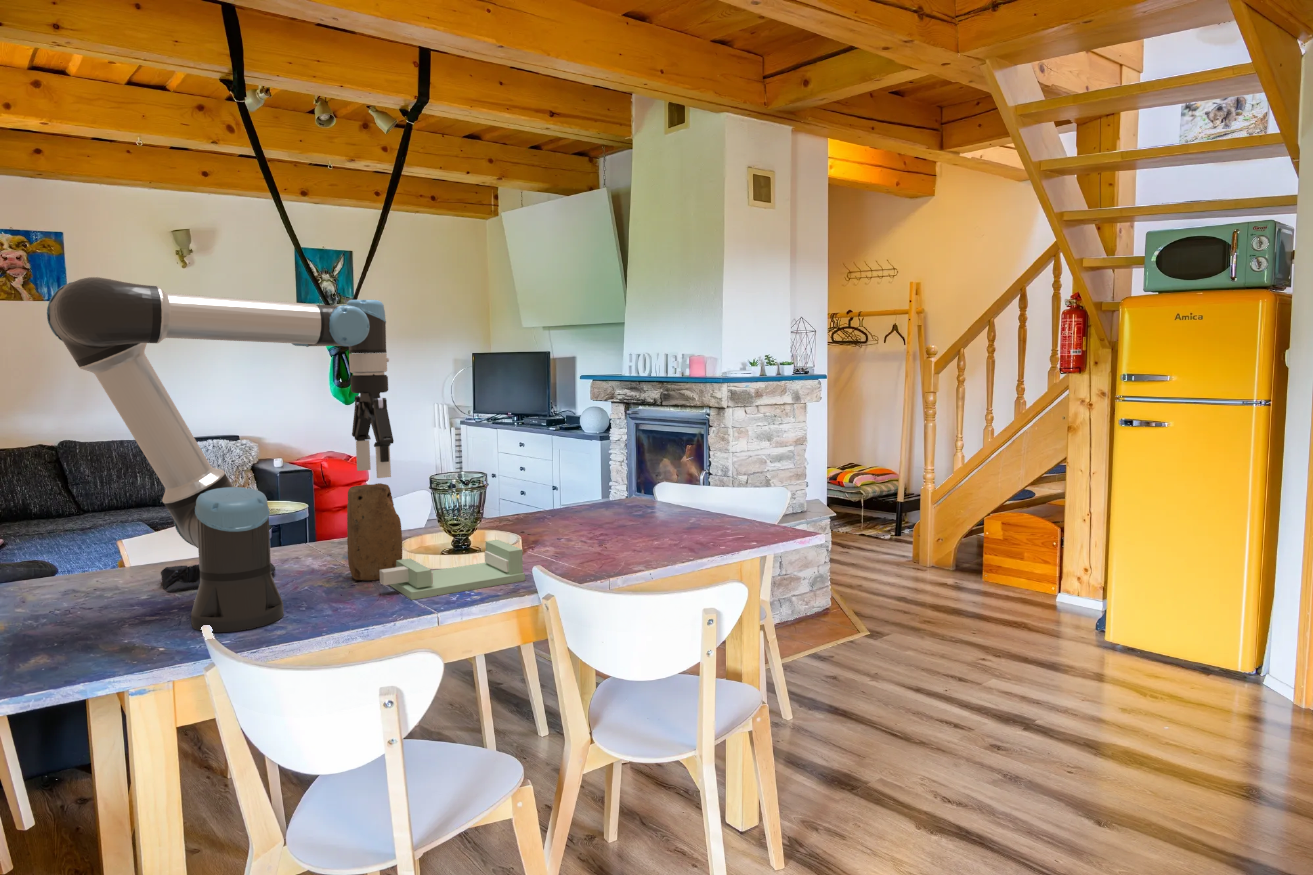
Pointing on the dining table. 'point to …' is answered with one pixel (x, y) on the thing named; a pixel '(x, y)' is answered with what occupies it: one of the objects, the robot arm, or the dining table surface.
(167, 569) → the dark slate chunk
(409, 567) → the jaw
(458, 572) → the vise
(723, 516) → the dining table surface
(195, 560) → the dining table surface
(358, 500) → the block
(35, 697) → the dining table surface
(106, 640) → the dining table surface
